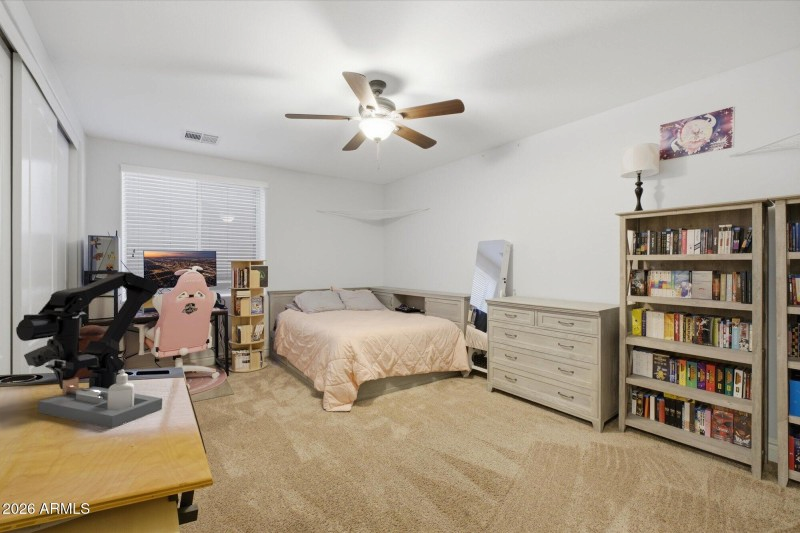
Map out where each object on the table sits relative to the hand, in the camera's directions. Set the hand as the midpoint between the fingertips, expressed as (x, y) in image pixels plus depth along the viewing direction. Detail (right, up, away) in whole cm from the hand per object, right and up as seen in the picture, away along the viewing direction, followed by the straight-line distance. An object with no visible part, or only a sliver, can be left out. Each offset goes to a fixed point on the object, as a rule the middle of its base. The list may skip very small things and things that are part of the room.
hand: (63, 389), depth 105 cm
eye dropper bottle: (+21, -5, -6) cm, 23 cm away
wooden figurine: (-15, -4, +25) cm, 30 cm away
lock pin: (+8, -1, -2) cm, 8 cm away
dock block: (+15, -4, -4) cm, 16 cm away
